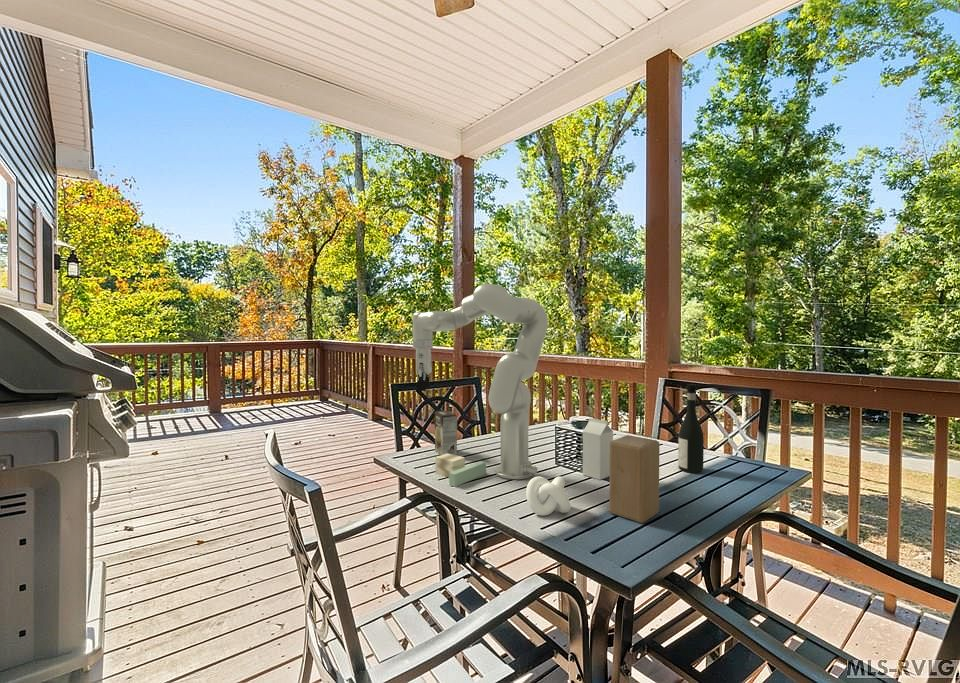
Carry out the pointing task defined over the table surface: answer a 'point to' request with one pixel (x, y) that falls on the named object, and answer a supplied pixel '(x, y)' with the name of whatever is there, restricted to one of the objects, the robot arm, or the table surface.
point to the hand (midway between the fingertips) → (423, 389)
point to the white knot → (547, 496)
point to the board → (467, 473)
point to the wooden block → (634, 478)
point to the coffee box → (445, 432)
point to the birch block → (448, 464)
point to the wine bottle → (691, 437)
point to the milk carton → (597, 449)
